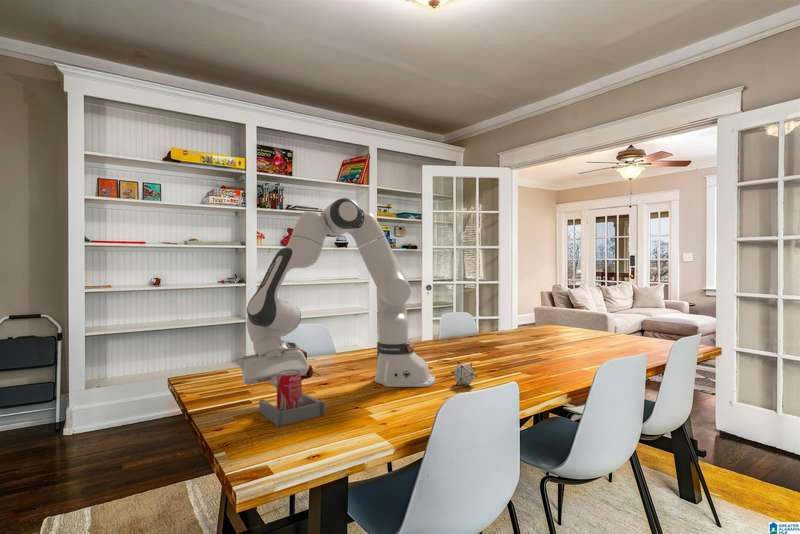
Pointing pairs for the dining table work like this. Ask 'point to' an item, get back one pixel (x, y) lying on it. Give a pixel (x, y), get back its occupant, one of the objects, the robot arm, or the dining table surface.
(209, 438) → the dining table surface
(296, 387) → the soda can
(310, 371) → the toy fire truck
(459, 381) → the game die
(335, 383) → the dining table surface
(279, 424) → the corral
